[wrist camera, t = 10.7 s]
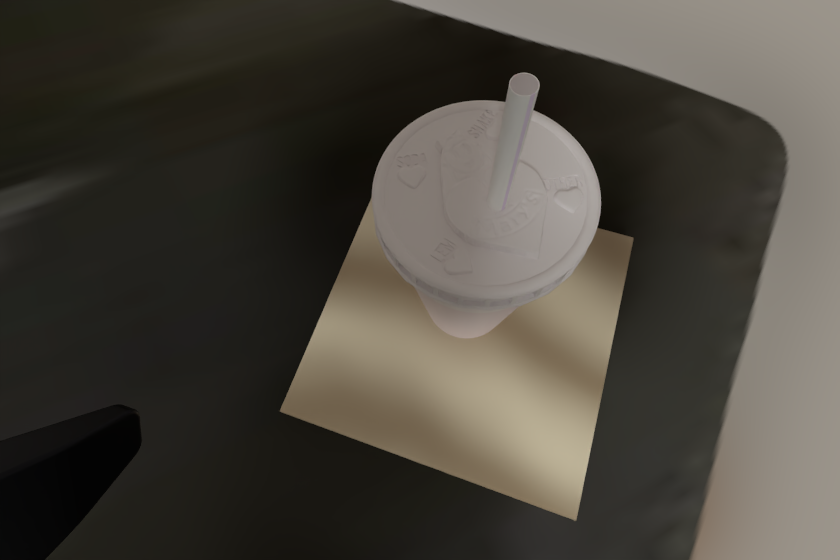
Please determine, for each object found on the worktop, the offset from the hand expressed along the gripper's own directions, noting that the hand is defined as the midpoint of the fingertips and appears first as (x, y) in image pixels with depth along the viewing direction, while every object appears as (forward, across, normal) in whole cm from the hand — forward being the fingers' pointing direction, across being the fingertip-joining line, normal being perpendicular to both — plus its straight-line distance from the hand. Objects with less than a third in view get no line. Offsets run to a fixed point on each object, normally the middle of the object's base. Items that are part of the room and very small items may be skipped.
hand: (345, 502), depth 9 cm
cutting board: (+14, 0, +3) cm, 15 cm away
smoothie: (+14, 0, +2) cm, 14 cm away
